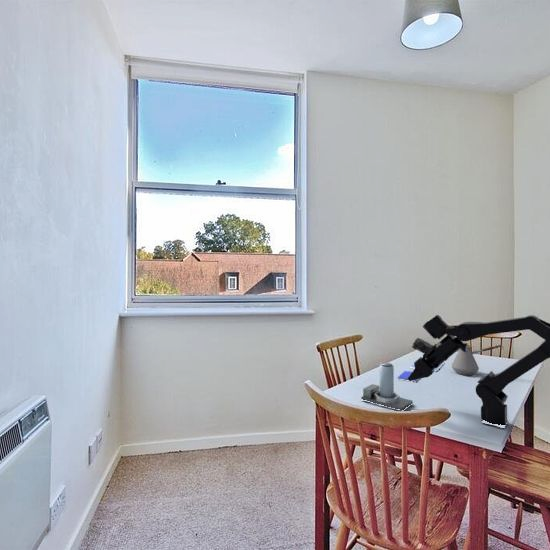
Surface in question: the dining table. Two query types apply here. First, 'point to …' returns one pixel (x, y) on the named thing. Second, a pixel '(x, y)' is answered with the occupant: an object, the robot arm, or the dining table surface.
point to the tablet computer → (434, 369)
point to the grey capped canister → (386, 380)
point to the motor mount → (373, 396)
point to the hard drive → (406, 375)
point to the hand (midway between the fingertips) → (412, 376)
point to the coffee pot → (467, 361)
